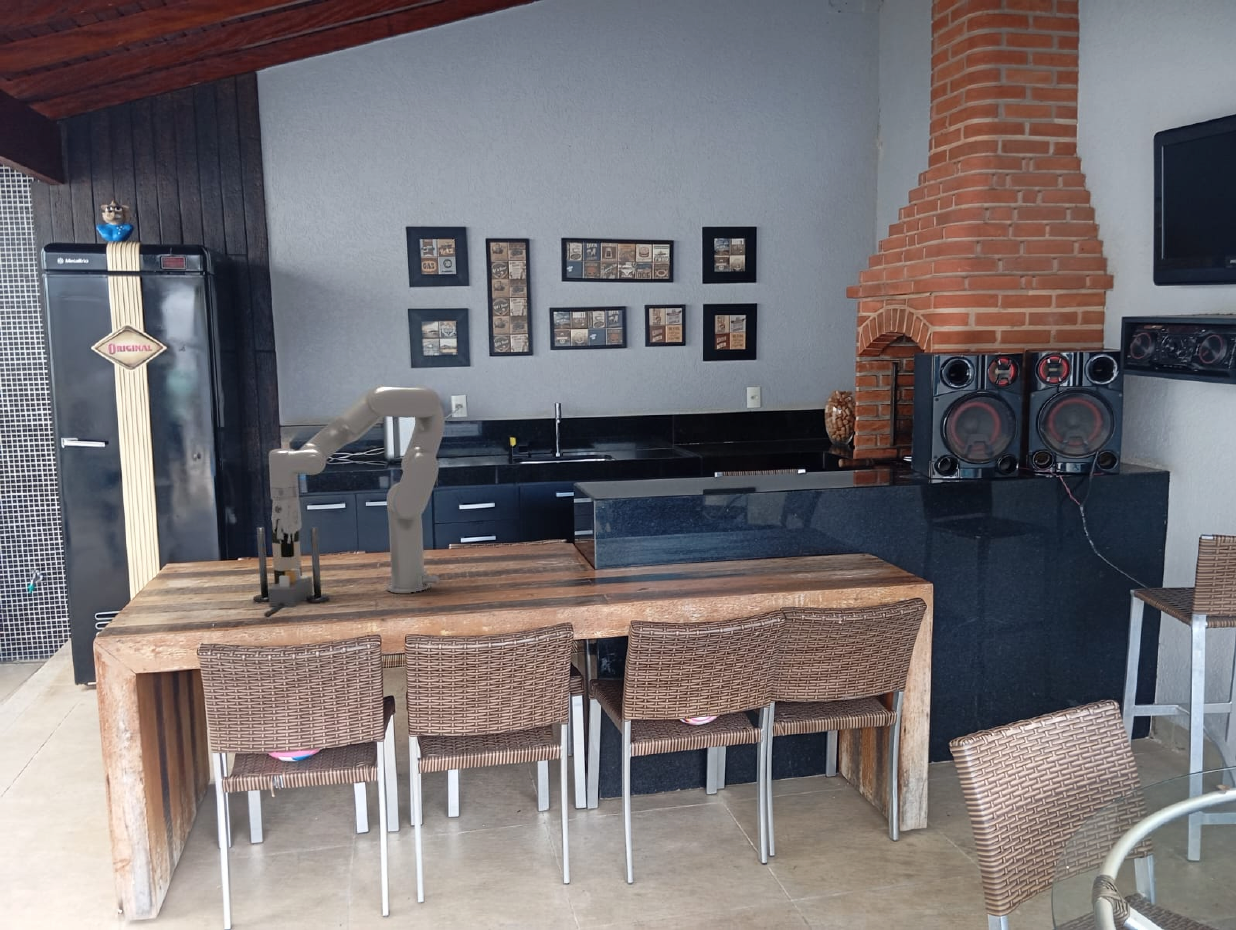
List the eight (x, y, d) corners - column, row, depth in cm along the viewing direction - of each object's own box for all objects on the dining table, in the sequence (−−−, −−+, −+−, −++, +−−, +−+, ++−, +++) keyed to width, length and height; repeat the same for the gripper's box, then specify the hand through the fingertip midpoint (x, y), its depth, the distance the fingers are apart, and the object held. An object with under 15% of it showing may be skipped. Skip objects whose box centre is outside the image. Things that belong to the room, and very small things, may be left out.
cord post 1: (280, 597, 311) (276, 525, 308) (271, 603, 304) (266, 530, 301) (259, 597, 311) (254, 525, 308) (249, 602, 305) (244, 530, 302)
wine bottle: (294, 584, 325) (288, 486, 321) (268, 584, 326) (262, 486, 322) (307, 578, 333) (301, 482, 329) (282, 577, 335) (276, 481, 330)
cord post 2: (332, 597, 309) (328, 525, 306) (324, 603, 303) (320, 530, 300) (311, 597, 310) (307, 525, 307) (302, 603, 303) (298, 530, 301)
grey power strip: (312, 593, 314) (311, 566, 313) (279, 616, 290) (277, 587, 289) (289, 593, 314) (288, 566, 313) (254, 616, 291) (252, 587, 290)
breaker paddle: (295, 581, 307) (294, 571, 306) (293, 582, 306) (293, 572, 305) (287, 581, 307) (286, 571, 307) (285, 582, 306) (284, 572, 305)
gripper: (286, 497, 295) (290, 562, 297) (307, 488, 310) (310, 551, 312) (260, 496, 296) (263, 562, 298) (282, 488, 310) (285, 550, 313)
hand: (287, 556), depth 305 cm, fingers closed
